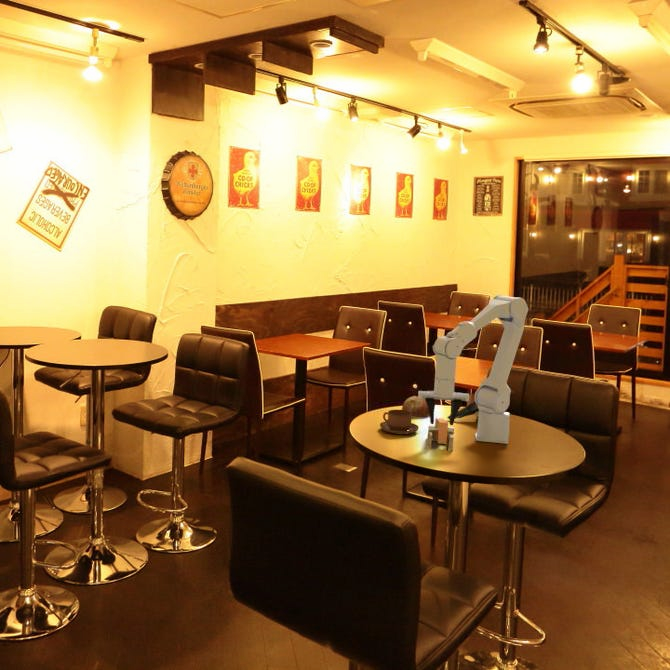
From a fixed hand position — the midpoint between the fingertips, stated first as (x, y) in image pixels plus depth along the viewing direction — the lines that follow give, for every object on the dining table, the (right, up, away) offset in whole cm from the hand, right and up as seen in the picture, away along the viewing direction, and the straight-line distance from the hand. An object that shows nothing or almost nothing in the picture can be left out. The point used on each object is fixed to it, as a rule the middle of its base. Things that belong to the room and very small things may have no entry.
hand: (441, 423), depth 210 cm
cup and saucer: (-11, -4, +14) cm, 18 cm away
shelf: (0, -6, +2) cm, 6 cm away
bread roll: (-3, -2, +38) cm, 38 cm away
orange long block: (0, -5, 0) cm, 5 cm away
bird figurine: (+17, -3, +31) cm, 35 cm away
